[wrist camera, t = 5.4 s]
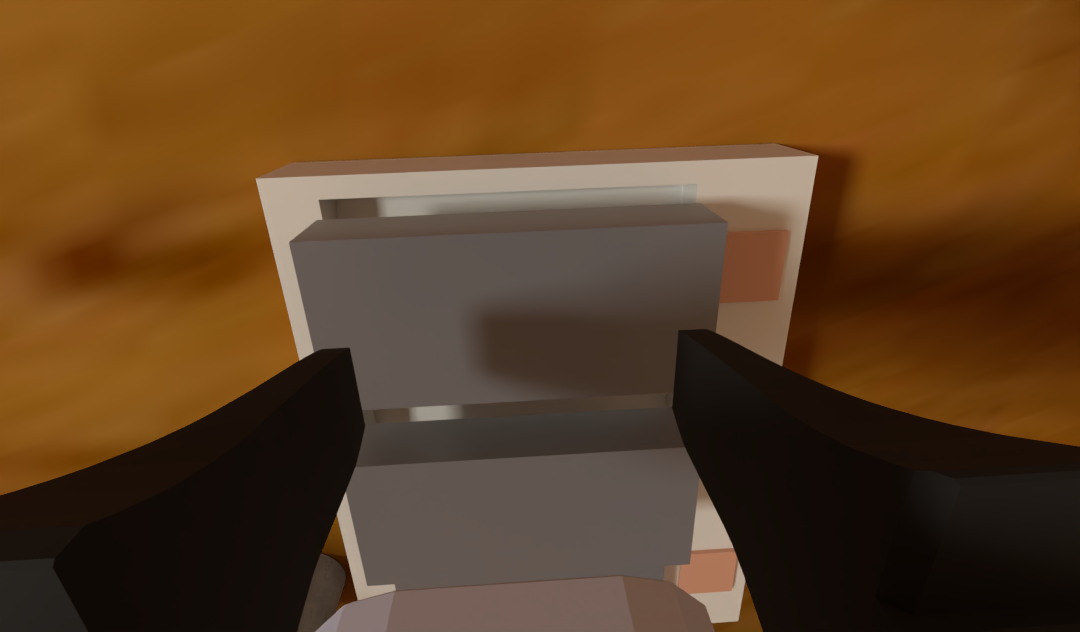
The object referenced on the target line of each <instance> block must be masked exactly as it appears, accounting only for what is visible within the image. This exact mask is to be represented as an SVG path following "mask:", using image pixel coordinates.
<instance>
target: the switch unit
mask: <svg viewBox="0 0 1080 632" xmlns="http://www.w3.org/2000/svg"><path fill="white" fill-rule="evenodd" d="M817 162H818V155H815V154H811V153H808V152H804V151H801V150H797V149H793V148H790V147H786V146H783V145H779V144H776V143H772V144H747V145H722V146H697V147H672V148H647V149H622V150H597V151H572V152H547V153H522V154H497V155H472V156H447V157H422V158H397V159H373V160H348V161H323V162H298V163H290V164H288V165H286V166H283V167H281V168H279V169H277V170H274V171H272V172H270V173H267V174H265V175H263V176H261V177H258V178H256V182H257V186H258V190H259V194H260V198H261V203H262V207H263V211H264V215H265V219H266V223H267V227H268V231H269V236H270V240H271V244H272V248H273V252H274V256H275V260H276V265H277V269H278V273H279V277H280V281H281V285H282V289H283V293H284V298H285V302H286V306H287V310H288V314H289V318H290V322H291V326H292V331H293V335H294V339H295V343H296V347H297V351H298V355H299V360H301V359H303V358H305V357H306V356H308V355H310V354H312V353H314V351H313V346H312V342H311V338H310V333H309V329H308V324H307V320H306V316H305V311H304V307H303V303H302V298H301V294H300V289H299V285H298V281H297V276H296V272H295V268H294V263H293V259H292V254H291V250H290V246H289V242H290V241H291V240H292V239H294V238H295V237H296V236H297V235H299V234H300V233H301V232H302V231H304V230H305V229H306V228H307V227H309V226H310V225H311V224H312V223H314V222H315V221H316V220H326V219H349V218H371V217H394V216H417V215H440V214H463V213H486V212H509V211H531V210H554V209H577V208H600V207H623V206H646V205H668V204H691V203H701V204H703V205H704V206H705V207H707V208H708V209H710V210H711V211H713V212H714V213H715V214H717V215H718V216H720V217H721V218H723V219H724V220H725V221H727V222H728V229H727V238H726V247H725V255H724V264H723V273H722V282H721V291H720V300H719V309H718V318H717V327H716V333H718V334H720V335H722V336H724V337H726V338H728V339H730V340H732V341H734V342H736V343H738V344H739V345H741V346H743V347H745V348H747V349H749V350H751V351H753V352H755V353H757V354H759V355H761V356H763V357H764V358H766V359H768V360H770V361H772V362H774V363H776V364H778V365H780V366H782V364H783V359H784V353H785V347H786V341H787V335H788V330H789V324H790V318H791V312H792V306H793V301H794V295H795V289H796V283H797V278H798V272H799V266H800V260H801V254H802V249H803V243H804V237H805V231H806V226H807V220H808V214H809V208H810V202H811V197H812V191H813V185H814V179H815V173H816V168H817ZM672 404H673V393H659V394H641V395H623V396H605V397H588V398H570V399H552V400H534V401H516V402H498V403H481V404H463V405H445V406H427V407H409V408H392V409H374V410H362V412H363V417H364V422H365V424H378V423H396V422H413V421H431V420H448V419H466V418H483V417H501V416H518V415H536V414H553V413H571V412H589V411H606V410H624V409H641V408H659V407H672ZM337 517H338V521H339V525H340V529H341V533H342V537H343V541H344V545H345V550H346V554H347V558H348V562H349V566H350V570H351V574H352V579H353V583H354V587H355V591H356V595H357V599H358V600H362V599H366V598H369V597H373V596H377V595H381V594H384V593H388V592H392V591H396V588H395V584H391V585H376V586H367V583H366V579H365V574H364V570H363V565H362V561H361V557H360V552H359V548H358V543H357V539H356V535H355V530H354V526H353V522H352V517H351V513H350V508H349V504H348V500H347V495H346V492H345V495H344V497H343V500H342V502H341V505H340V507H339V510H338V512H337ZM663 580H664V581H668V582H672V583H674V584H675V585H676V586H678V587H679V588H681V589H682V590H684V591H685V592H687V593H688V594H689V595H691V596H692V597H694V598H695V599H697V600H698V601H699V602H701V603H702V604H704V605H705V606H706V609H707V612H708V614H709V617H710V620H711V622H712V623H719V622H733V621H738V619H739V613H740V607H741V601H742V596H743V590H744V584H745V578H744V575H743V572H742V569H741V567H740V564H739V561H738V559H737V556H736V553H735V550H734V548H733V545H732V543H731V541H730V539H729V536H728V534H727V532H726V530H725V527H724V525H723V523H722V521H721V519H720V517H719V515H718V513H717V511H716V509H715V507H714V505H713V503H712V501H711V499H710V497H709V495H708V493H707V491H706V489H705V487H704V485H703V483H702V481H701V479H700V478H699V487H698V496H697V505H696V513H695V522H694V531H693V540H692V549H691V558H690V564H687V565H673V566H664V577H663Z"/></svg>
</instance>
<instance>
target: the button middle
mask: <svg viewBox="0 0 1080 632" xmlns="http://www.w3.org/2000/svg"><path fill="white" fill-rule="evenodd" d="M699 478H700V477H699V475H698V473H697V471H696V469H695V467H694V465H693V463H692V461H691V459H690V457H689V455H688V453H687V451H686V448H685V446H684V444H683V441H682V438H681V435H680V432H679V429H678V426H677V423H676V419H675V416H674V413H673V410H672V407H659V408H641V409H624V410H606V411H589V412H571V413H553V414H536V415H518V416H501V417H483V418H466V419H448V420H431V421H413V422H396V423H378V424H365V430H364V434H363V439H362V443H361V448H360V452H359V456H358V460H357V464H356V467H355V469H354V472H353V475H352V477H351V480H350V482H349V485H348V487H347V490H346V495H347V500H348V504H349V508H350V513H351V517H352V522H353V526H354V530H355V535H356V539H357V543H358V548H359V552H360V557H361V561H362V565H363V570H364V574H365V579H366V583H367V586H376V585H391V584H406V583H421V582H435V581H450V580H465V579H480V578H495V577H510V576H524V575H539V574H554V573H569V572H584V571H599V570H613V569H628V568H643V567H658V566H673V565H687V564H690V558H691V549H692V540H693V531H694V522H695V513H696V505H697V496H698V487H699Z"/></svg>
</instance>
